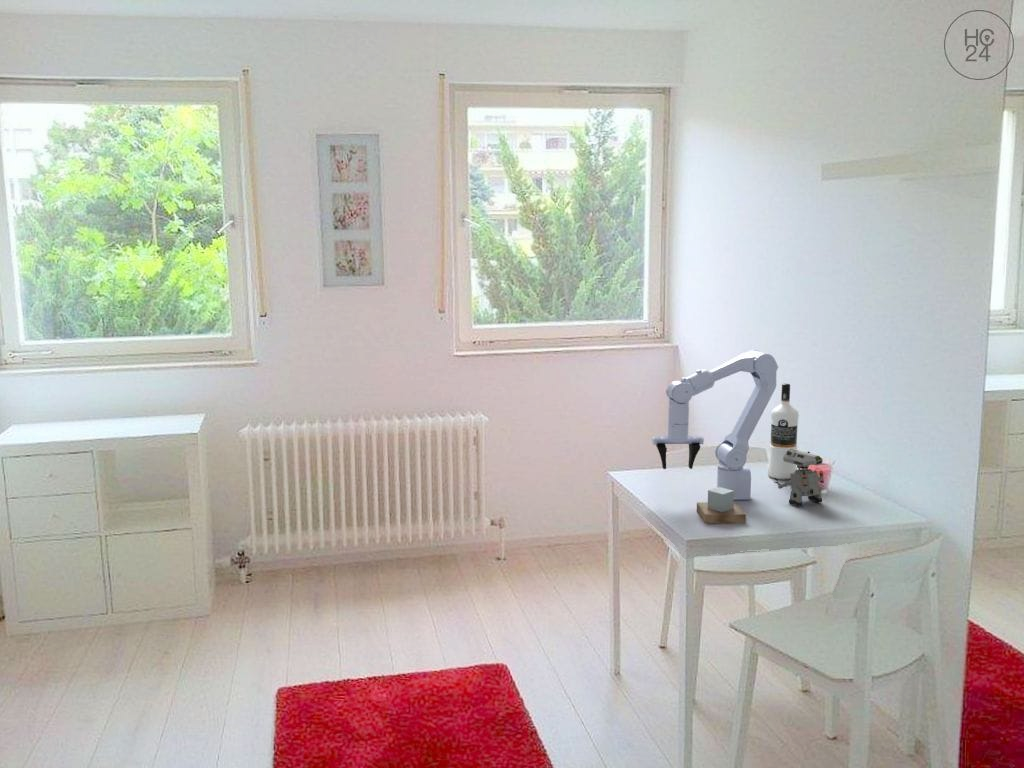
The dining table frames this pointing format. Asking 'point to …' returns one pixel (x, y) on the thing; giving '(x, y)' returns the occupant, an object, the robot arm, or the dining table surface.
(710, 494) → the block
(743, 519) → the plinth
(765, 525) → the dining table surface
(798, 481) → the figurine
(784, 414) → the vodka
